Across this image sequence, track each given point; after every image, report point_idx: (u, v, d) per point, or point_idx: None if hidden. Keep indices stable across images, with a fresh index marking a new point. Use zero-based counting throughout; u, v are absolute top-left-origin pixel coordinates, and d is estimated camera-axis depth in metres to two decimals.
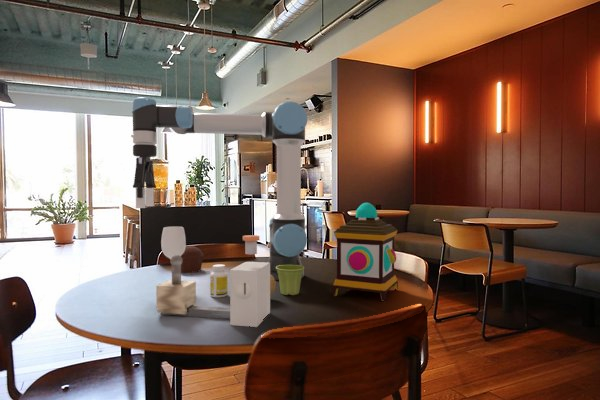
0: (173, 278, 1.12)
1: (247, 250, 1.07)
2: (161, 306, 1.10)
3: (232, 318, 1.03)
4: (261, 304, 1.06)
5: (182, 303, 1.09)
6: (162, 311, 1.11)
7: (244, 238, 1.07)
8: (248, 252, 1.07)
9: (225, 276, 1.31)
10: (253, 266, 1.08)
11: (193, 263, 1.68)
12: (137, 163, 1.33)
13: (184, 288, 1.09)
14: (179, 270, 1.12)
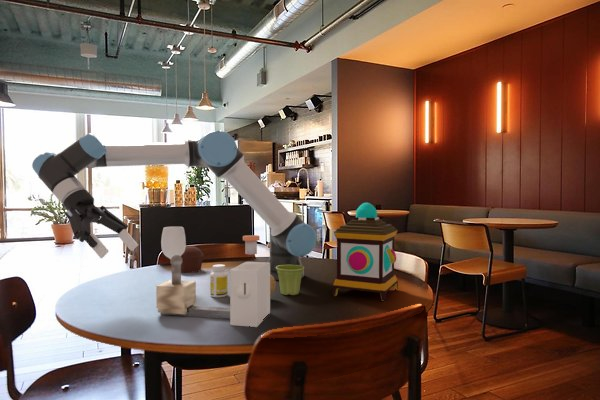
0: (173, 278, 1.12)
1: (247, 250, 1.07)
2: (161, 306, 1.10)
3: (232, 318, 1.03)
4: (261, 304, 1.06)
5: (182, 303, 1.09)
6: (162, 311, 1.11)
7: (244, 238, 1.07)
8: (248, 252, 1.07)
9: (225, 276, 1.31)
10: (253, 266, 1.08)
11: (193, 263, 1.68)
12: (69, 217, 1.12)
13: (184, 288, 1.09)
14: (179, 270, 1.12)
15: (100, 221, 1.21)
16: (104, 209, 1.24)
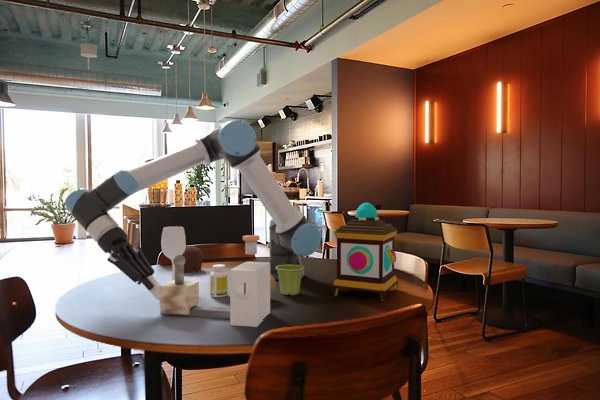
0: (176, 278, 1.12)
1: (247, 250, 1.07)
2: (164, 306, 1.10)
3: (232, 318, 1.03)
4: (261, 304, 1.06)
5: (185, 303, 1.09)
6: (165, 311, 1.11)
7: (244, 238, 1.07)
8: (248, 252, 1.07)
9: (225, 276, 1.31)
10: (253, 266, 1.08)
11: (193, 263, 1.68)
12: (114, 263, 1.10)
13: (187, 288, 1.09)
14: (182, 270, 1.12)
15: None
16: (139, 250, 1.20)
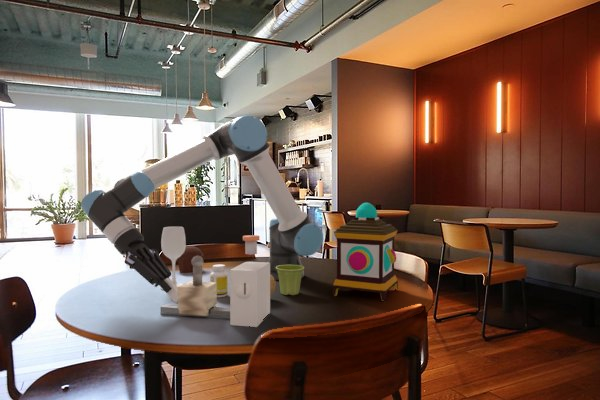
0: (194, 279, 1.10)
1: (247, 250, 1.07)
2: (183, 307, 1.09)
3: (232, 318, 1.03)
4: (261, 304, 1.06)
5: (204, 304, 1.08)
6: (183, 312, 1.09)
7: (244, 238, 1.07)
8: (248, 252, 1.07)
9: (225, 276, 1.31)
10: (253, 266, 1.08)
11: None
12: (131, 265, 1.09)
13: (206, 289, 1.08)
14: (200, 271, 1.11)
15: None
16: (155, 251, 1.19)
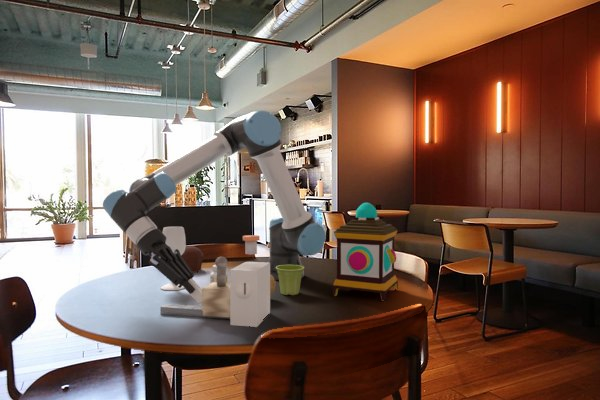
0: (218, 280, 1.09)
1: (247, 250, 1.07)
2: (207, 309, 1.07)
3: (232, 318, 1.03)
4: (261, 304, 1.06)
5: (229, 306, 1.06)
6: (208, 314, 1.08)
7: (244, 238, 1.07)
8: (248, 252, 1.07)
9: None
10: (253, 266, 1.08)
11: (193, 263, 1.68)
12: (155, 266, 1.08)
13: None
14: (224, 272, 1.10)
15: None
16: (177, 252, 1.18)
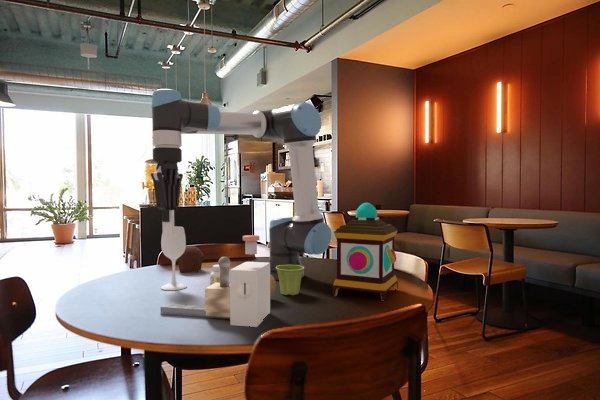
0: (221, 280, 1.09)
1: (247, 250, 1.07)
2: (210, 309, 1.07)
3: (232, 318, 1.03)
4: (261, 304, 1.06)
5: None
6: (211, 314, 1.08)
7: (244, 238, 1.07)
8: (248, 252, 1.07)
9: None
10: (253, 266, 1.08)
11: (193, 263, 1.68)
12: (154, 180, 1.07)
13: None
14: (227, 272, 1.09)
15: None
16: (180, 177, 1.17)
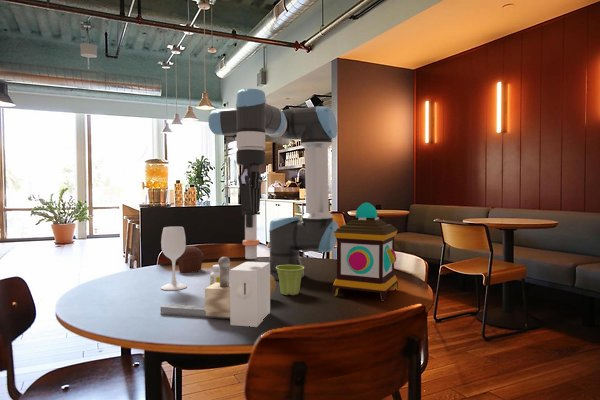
0: (221, 280, 1.09)
1: (247, 254, 1.07)
2: (210, 309, 1.07)
3: (232, 318, 1.03)
4: (261, 304, 1.06)
5: None
6: (211, 314, 1.08)
7: (244, 242, 1.07)
8: (248, 256, 1.07)
9: None
10: (253, 266, 1.08)
11: (193, 263, 1.68)
12: (240, 184, 1.03)
13: None
14: (227, 272, 1.09)
15: None
16: (260, 180, 1.12)
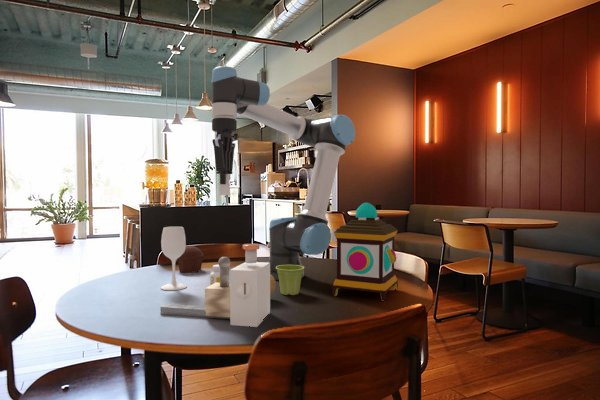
0: (221, 280, 1.09)
1: (247, 259, 1.07)
2: (210, 309, 1.07)
3: (232, 318, 1.03)
4: (261, 304, 1.06)
5: None
6: (211, 314, 1.08)
7: (244, 247, 1.07)
8: (248, 261, 1.07)
9: None
10: (253, 266, 1.08)
11: (193, 263, 1.68)
12: (214, 146, 1.22)
13: None
14: (227, 272, 1.09)
15: None
16: (233, 146, 1.32)
